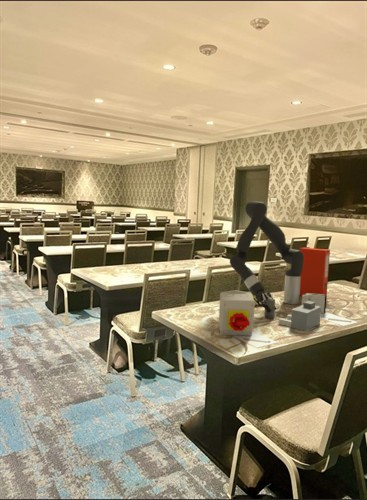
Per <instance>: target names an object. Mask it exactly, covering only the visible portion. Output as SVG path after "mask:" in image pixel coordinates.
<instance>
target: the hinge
mask: <svg viewBox="0 0 367 500" xmlns="http://www.w3.org/2000/svg"><path fill="white" fill-rule="evenodd" d="M327 296H328V295H327ZM327 296H326V295H323V294H308V293H306V295H302V296H301V305H303V303H304V302H306V301H312V302H315V306H320V307H321V313H320V314H326V311H327V310H326V309H327Z"/></svg>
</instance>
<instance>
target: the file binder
mask: <svg viewBox="0 0 367 500" xmlns="http://www.w3.org/2000/svg"><path fill="white" fill-rule="evenodd" d="M298 250H299V251H301V252H302V253H303V256H304V261H303V269H302V273H301V282H300V297H302V295H306V293H308V294H323V295H326V296H328V295H327V293H328V283H329V281H328V279H329V267H330V255H331V254H330V252H331V249H325V248H313V247H312V248H311V247H299V249H298Z"/></svg>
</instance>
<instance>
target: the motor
mask: <svg viewBox="0 0 367 500" xmlns="http://www.w3.org/2000/svg"><path fill="white" fill-rule="evenodd" d="M321 314H322V313H321V307H320V306H315V302H312V301H306V302H304V303H303V305H302V304H301V305H299V306H297V307H295V308H292V309H291V314H287V315H286V319H285V318H278V324H279V325H283V326H286V327H290V328H293V329H297V330H300V331H304V332H307V330H308V331H309V330H311V329H313V328H314V326H315V327H317V326H318V325H320V324H321ZM316 325H317V326H316ZM312 327H313V328H312Z"/></svg>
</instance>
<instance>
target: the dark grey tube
mask: <svg viewBox="0 0 367 500" xmlns="http://www.w3.org/2000/svg"><path fill="white" fill-rule="evenodd" d="M272 298H273V297H272ZM272 298H271V297H269V298H267V299H266V303H267V305H268V306H269V308H270V309H271V312H270V313H268V312H267V311H266V310H265V309H264V311H263V312H264V319H267V320H274V319H275V311H276V310H275V306H276V299H275V298H273V299H272Z"/></svg>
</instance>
